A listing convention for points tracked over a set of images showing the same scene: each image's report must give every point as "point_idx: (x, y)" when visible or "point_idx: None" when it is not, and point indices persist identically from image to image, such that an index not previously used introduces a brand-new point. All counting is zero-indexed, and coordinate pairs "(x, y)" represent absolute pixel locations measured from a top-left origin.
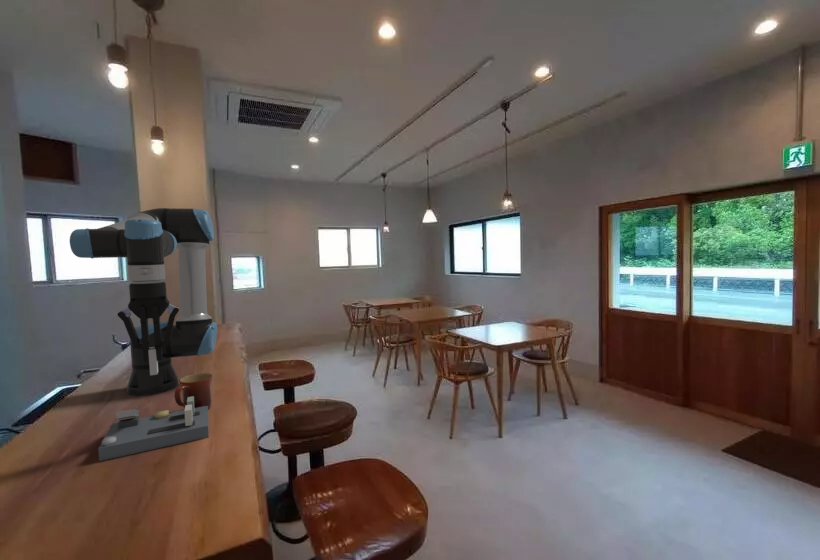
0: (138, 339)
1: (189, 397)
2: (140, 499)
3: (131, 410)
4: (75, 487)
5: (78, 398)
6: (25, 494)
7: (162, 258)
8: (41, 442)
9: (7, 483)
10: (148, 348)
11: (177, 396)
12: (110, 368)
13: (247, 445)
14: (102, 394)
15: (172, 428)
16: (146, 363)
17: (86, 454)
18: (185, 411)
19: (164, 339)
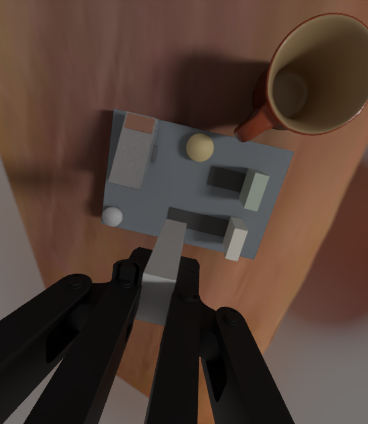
0: (63, 318)
1: (258, 178)
2: (151, 336)
3: (136, 188)
4: (92, 268)
5: None
6: (45, 246)
7: None
8: (8, 48)
9: (15, 199)
10: (135, 313)
11: (239, 141)
12: None
13: (280, 311)
14: None
15: (203, 230)
16: None
17: (90, 175)
18: (226, 257)
19: (207, 382)
